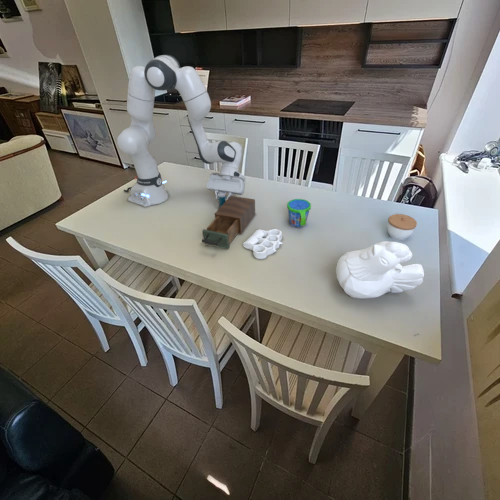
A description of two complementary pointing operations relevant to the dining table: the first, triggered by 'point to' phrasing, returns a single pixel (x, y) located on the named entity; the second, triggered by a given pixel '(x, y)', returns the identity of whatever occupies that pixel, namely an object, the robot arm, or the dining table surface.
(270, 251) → the white brass knuckles
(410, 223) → the trinket box
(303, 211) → the snack cup
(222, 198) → the salt shaker
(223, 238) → the drawer
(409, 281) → the decorative rooster
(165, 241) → the dining table surface
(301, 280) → the dining table surface
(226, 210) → the cabinet
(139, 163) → the robot arm
